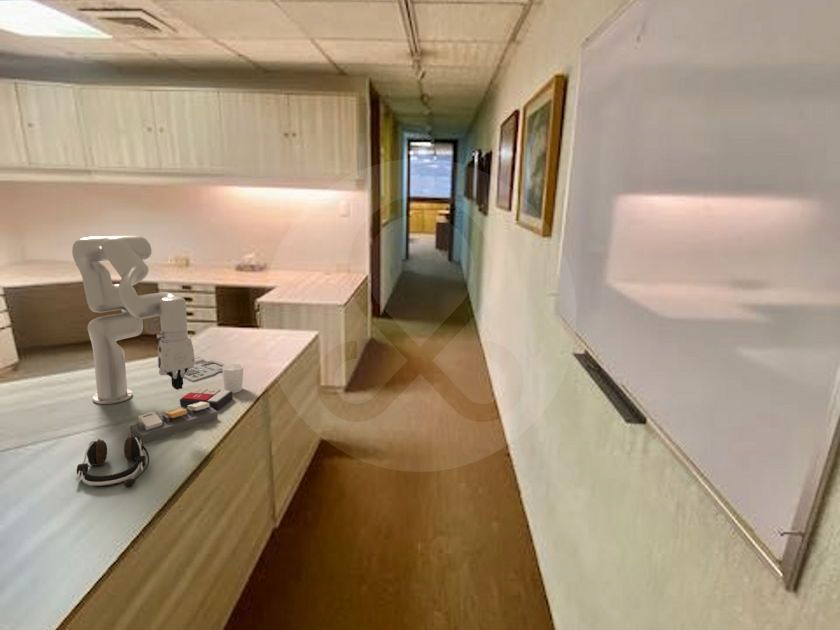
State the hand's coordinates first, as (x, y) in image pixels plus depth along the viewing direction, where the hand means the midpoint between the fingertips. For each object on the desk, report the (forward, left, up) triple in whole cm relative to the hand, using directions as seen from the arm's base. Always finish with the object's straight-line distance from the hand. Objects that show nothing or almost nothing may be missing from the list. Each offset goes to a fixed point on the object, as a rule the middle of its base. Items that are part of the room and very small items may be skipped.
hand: (177, 388), depth 157 cm
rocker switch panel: (-2, 0, -15) cm, 15 cm away
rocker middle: (-2, 0, -10) cm, 10 cm away
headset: (+12, -24, -15) cm, 31 cm away
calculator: (-13, +16, -15) cm, 26 cm away
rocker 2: (-2, +8, -10) cm, 13 cm away
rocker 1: (-2, -8, -10) cm, 13 cm away
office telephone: (-47, +31, -16) cm, 58 cm away
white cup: (-17, +30, -15) cm, 38 cm away
